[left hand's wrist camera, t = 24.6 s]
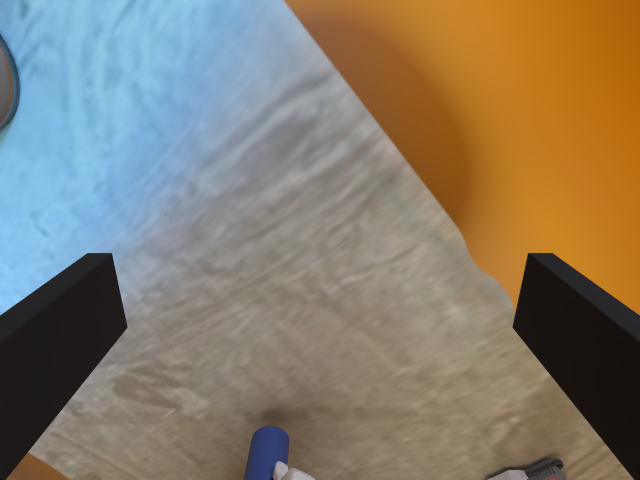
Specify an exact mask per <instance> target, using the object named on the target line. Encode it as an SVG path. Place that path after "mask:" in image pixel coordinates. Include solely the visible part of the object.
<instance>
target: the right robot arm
mask: <svg viewBox="0 0 640 480" xmlns="http://www.w3.org/2000/svg"><path fill="white" fill-rule="evenodd" d="M270 480H315V479H314V478H313V477H312V476H310V475H308V474H307V473H305V472H302V471H300V470H298V469H296V468H291V469H290V470H288V466H287V465H286V464H284V463H282V462H280V461H278V462H277V463H276V464H275V465H274V466H273V468H272V469H271V474H270Z"/></svg>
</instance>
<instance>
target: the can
mask: <svg viewBox="0 0 640 480" xmlns="http://www.w3.org/2000/svg"><path fill="white" fill-rule="evenodd" d="M288 451H289V437H288V435H287V434H286V433H285V432H284V431H283V430H282V429H280V428H277V427H272V426H268V427H263V428H260V429H258V430H257V431H256V432H255V433H254V434H253V436H252V441H251V446H250V451H249V456H248V462H247V467H246V472H245V477H244V480H270V474H271V469H272V468H273V466H274V465H275V464H276V463H277V462H278V461H280V462H282V463H284V464H286V465H287V463H288Z"/></svg>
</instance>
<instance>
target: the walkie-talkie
mask: <svg viewBox="0 0 640 480" xmlns="http://www.w3.org/2000/svg"><path fill="white" fill-rule="evenodd" d="M563 466H564V465H563V463H562V461H561V460H559V459H557V460H545V461H543V462H540V463H538V464H536V465H534V466H532V467H530V468H528V469H526V470H523V471H521V470H507V471H505V472H503V473H501V474H499V475H497V476H495V477H493V478H489V479H487V480H567V479H566V477H565V476H564V475H563V473H562V472H561V471H560V469H561V468H563Z"/></svg>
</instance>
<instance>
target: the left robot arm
mask: <svg viewBox="0 0 640 480" xmlns="http://www.w3.org/2000/svg"><path fill="white" fill-rule="evenodd" d="M18 99H19V79H18V73H17V69H16V65H15V62H14V60H13V57H12V55H11V53H10V50H9V49H8V47H7V45H6V43H5V42H4V40H3V38H2V37H1V35H0V130H1V129H3V128H4V127H5V126H6V125H7V124H8V123H9V121H10V120H11V118H12V117H13V115H14V113H15V110H16V107H17V104H18ZM126 329H127V323H126V318H125V313H124V309H123V304H122V299H121V294H120V290H119V285H118V280H117V275H116V271H115V266H114V261H113V256H112V253H87V254H86V255H84V256H83V257H81V258H80V259H79V260H77V261H76V262H75V263H73V264H72V265H70V266H69V267H68V268H66V269H65V270H63V271H62V272H61V273H59V274H58V275H56V276H55V277H54V278H52V279H51V280H49V281H48V282H47V283H45V284H44V285H42V286H41V287H40V288H38V289H37V290H35V291H34V292H33V293H31V294H30V295H28V296H27V297H26V298H24V299H23V300H21V301H20V302H19V303H17V304H16V305H14V306H13V307H12V308H10V309H9V310H7V311H6V312H5V313H3V314H2V315H0V480H6V479H7V477H8V476H9V475H10V474H11V472H12V471H13V470H14V469H15V467H16V466H17V465H18V464H19V462H20V461H21V460H22V459H23V457H24V456H25V455H26V454H27V452H28V451H29V450H30V449H31V447H32V446H33V445H34V444H35V442H36V441H37V440H38V439H39V437H40V436H41V435H42V434H43V432H44V431H45V430H46V429H47V427H48V426H49V425H50V424H51V422H52V421H53V420H54V419H55V417H56V416H57V415H58V414H59V412H60V411H61V410H62V409H63V407H64V406H65V405H66V404H67V402H68V401H69V400H70V399H71V397H72V396H73V395H74V394H75V392H76V391H77V390H78V389H79V387H80V386H81V385H82V384H83V382H84V381H85V380H86V379H87V377H88V376H89V375H90V374H91V372H92V371H93V370H94V369H95V367H96V366H97V365H98V364H99V362H100V361H101V360H102V359H103V357H104V356H105V355H106V354H107V352H108V351H109V350H110V349H111V347H112V346H113V345H114V344H115V342H116V341H117V340H118V339H119V337H120V336H121V335H122V334H123V332H124V331H125V330H126ZM513 329H514V330H515V331H516V332H517V334H518V335H519V336H520V337H521V339H522V340H523V341H524V342H525V344H526V345H527V346H528V347H529V349H530V350H531V351H532V352H533V354H534V355H535V356H536V357H537V359H538V360H539V361H540V362H541V364H542V365H543V366H544V367H545V369H546V370H547V371H548V372H549V374H550V375H551V376H552V377H553V379H554V380H555V381H556V382H557V384H558V385H559V386H560V387H561V389H562V390H563V391H564V392H565V394H566V395H567V396H568V397H569V399H570V400H571V401H572V402H573V404H574V405H575V406H576V407H577V409H578V410H579V411H580V412H581V414H582V415H583V416H584V417H585V419H586V420H587V421H588V422H589V424H590V425H591V426H592V427H593V429H594V430H595V431H596V432H597V434H598V435H599V436H600V437H601V439H602V440H603V441H604V442H605V444H606V445H607V446H608V447H609V449H610V450H611V451H612V452H613V454H614V455H615V456H616V457H617V459H618V460H619V461H620V462H621V464H622V465H623V466H624V467H625V469H626V470H627V471H628V472H629V474H630V475H631V476H632V477H633V479H634V480H640V315H638V314H637V313H635V312H634V311H633V310H631V309H630V308H628V307H627V306H626V305H624V304H623V303H621V302H620V301H619V300H617V299H616V298H614V297H613V296H612V295H610V294H609V293H607V292H606V291H605V290H603V289H602V288H600V287H599V286H598V285H596V284H595V283H593V282H592V281H591V280H589V279H588V278H586V277H585V276H584V275H582V274H581V273H579V272H578V271H577V270H575V269H574V268H572V267H571V266H570V265H568V264H567V263H565V262H564V261H563V260H561V259H560V258H559V257H557V256H556V255H554V254H553V253H528V256H527V261H526V266H525V271H524V275H523V280H522V285H521V290H520V294H519V299H518V304H517V309H516V313H515V318H514V323H513Z"/></svg>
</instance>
